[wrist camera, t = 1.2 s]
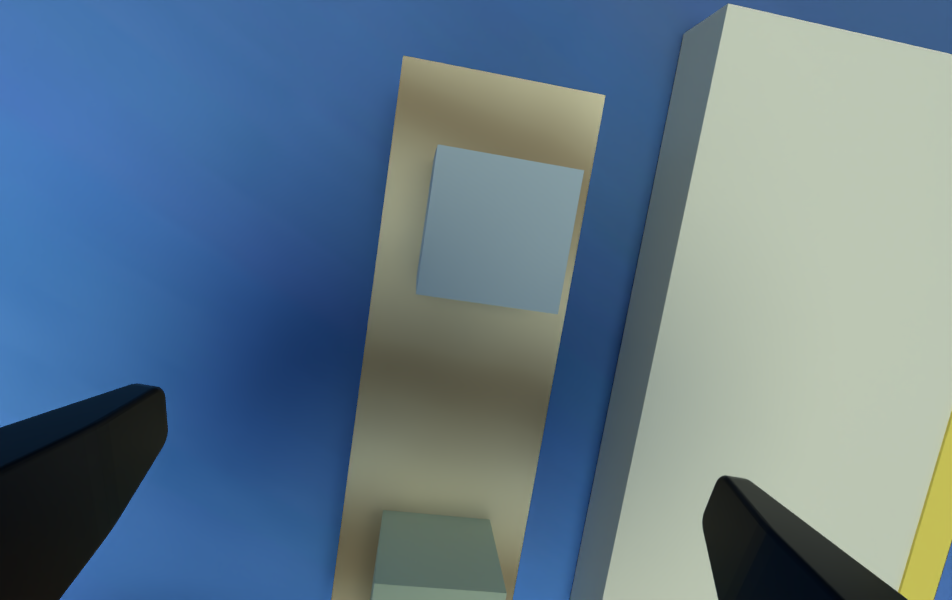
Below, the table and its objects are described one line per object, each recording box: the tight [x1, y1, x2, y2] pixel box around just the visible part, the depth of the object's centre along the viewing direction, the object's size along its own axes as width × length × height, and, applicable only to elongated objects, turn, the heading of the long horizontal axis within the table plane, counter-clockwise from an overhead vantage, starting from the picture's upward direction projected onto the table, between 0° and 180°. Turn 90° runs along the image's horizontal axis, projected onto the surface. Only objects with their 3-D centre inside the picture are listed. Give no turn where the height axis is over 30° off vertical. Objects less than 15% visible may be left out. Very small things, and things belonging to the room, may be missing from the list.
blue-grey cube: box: [416, 144, 584, 314], centre depth 14 cm, size 4×4×4 cm
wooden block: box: [331, 56, 605, 600], centre depth 19 cm, size 20×6×5 cm, turn 171°
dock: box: [570, 4, 952, 600], centre depth 22 cm, size 24×15×3 cm, turn 171°
